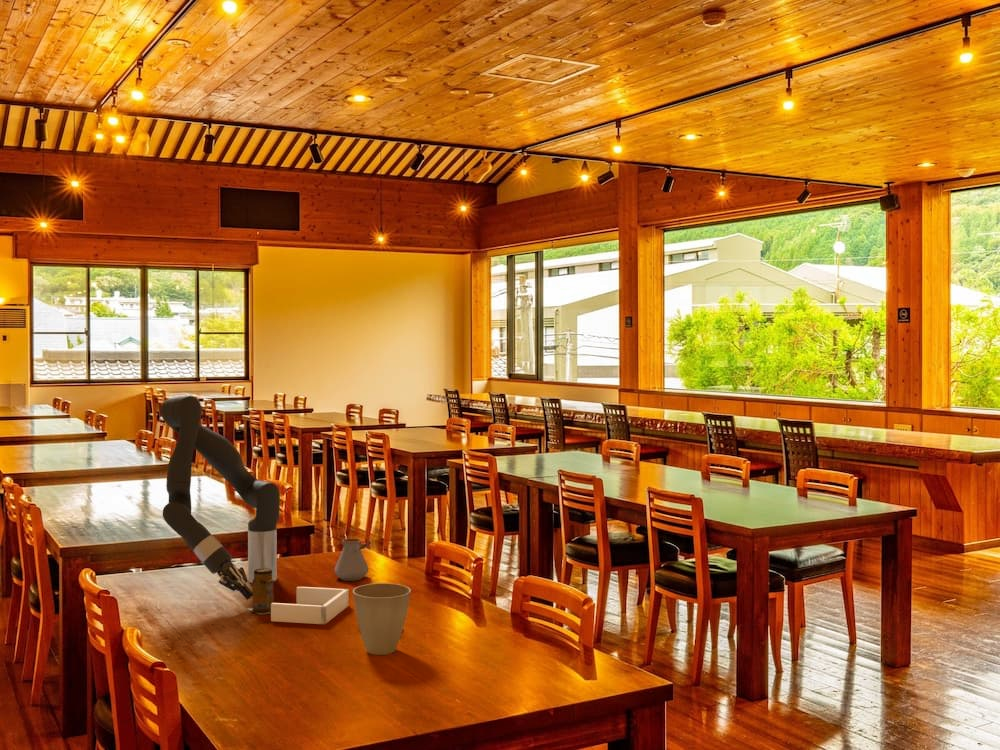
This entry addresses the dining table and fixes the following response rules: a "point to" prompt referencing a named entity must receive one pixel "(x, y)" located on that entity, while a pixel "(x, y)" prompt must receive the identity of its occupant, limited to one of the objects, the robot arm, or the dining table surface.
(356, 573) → the coffee pot
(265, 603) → the condiment
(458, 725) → the dining table surface
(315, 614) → the caddy
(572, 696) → the dining table surface
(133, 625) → the dining table surface
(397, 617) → the plant pot
